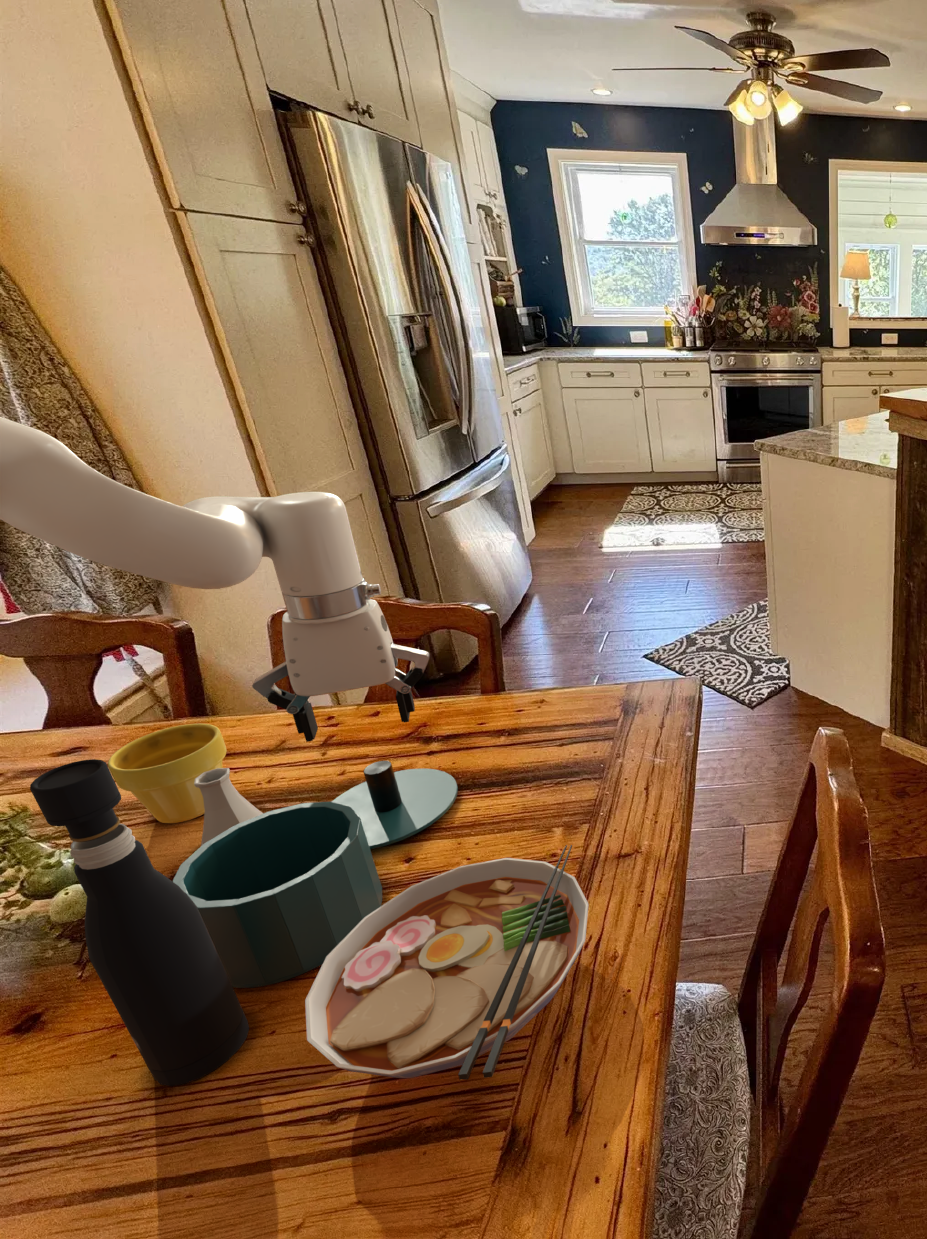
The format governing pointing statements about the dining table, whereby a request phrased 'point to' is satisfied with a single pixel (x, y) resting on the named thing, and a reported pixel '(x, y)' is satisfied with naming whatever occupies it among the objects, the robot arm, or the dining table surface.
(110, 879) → the dark water bottle
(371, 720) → the dining table surface
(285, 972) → the pot
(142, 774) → the flower pot
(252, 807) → the flask
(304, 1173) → the dining table surface
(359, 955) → the ramen bowl
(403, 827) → the lid
